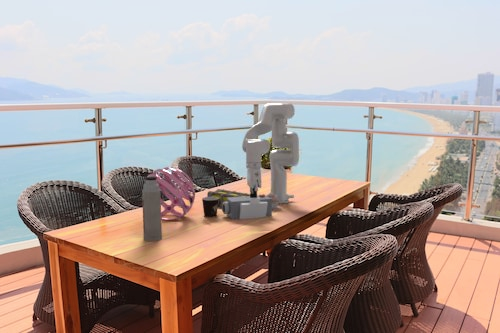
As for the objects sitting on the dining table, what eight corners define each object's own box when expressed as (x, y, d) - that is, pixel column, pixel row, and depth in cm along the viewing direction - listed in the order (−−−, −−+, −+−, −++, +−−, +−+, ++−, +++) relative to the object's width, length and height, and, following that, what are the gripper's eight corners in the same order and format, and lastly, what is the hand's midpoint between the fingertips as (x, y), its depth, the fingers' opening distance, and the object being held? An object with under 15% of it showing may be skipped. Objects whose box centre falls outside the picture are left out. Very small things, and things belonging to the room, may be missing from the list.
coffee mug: (206, 219, 241) (205, 200, 240) (199, 216, 249) (199, 197, 248) (226, 217, 247) (226, 198, 245) (219, 213, 254) (219, 195, 253)
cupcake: (270, 206, 271) (270, 189, 269) (282, 209, 264) (282, 191, 263) (259, 209, 264) (259, 191, 263) (271, 212, 258) (271, 194, 256)
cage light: (218, 187, 287) (257, 193, 269) (218, 200, 288) (257, 207, 270) (201, 191, 275) (241, 198, 257) (201, 204, 276) (241, 212, 258)
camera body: (265, 212, 256) (265, 193, 254) (271, 217, 246) (272, 197, 245) (221, 216, 248) (220, 196, 247) (226, 221, 239) (225, 200, 237)
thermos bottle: (142, 241, 206) (140, 178, 201) (145, 236, 213) (143, 175, 209) (160, 241, 206) (159, 178, 202) (162, 235, 214) (161, 175, 210)
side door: (265, 217, 245) (268, 196, 239) (265, 218, 244) (268, 198, 238) (238, 219, 241) (241, 198, 235) (239, 221, 240) (241, 199, 234)
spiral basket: (139, 189, 221) (179, 153, 234) (122, 193, 245) (159, 160, 258) (177, 232, 229) (213, 195, 241) (157, 231, 252) (191, 198, 265)
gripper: (265, 167, 230) (265, 203, 233) (255, 162, 244) (255, 197, 247) (251, 167, 228) (251, 204, 231) (242, 163, 242) (242, 198, 245)
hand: (253, 200), depth 239 cm, fingers closed
